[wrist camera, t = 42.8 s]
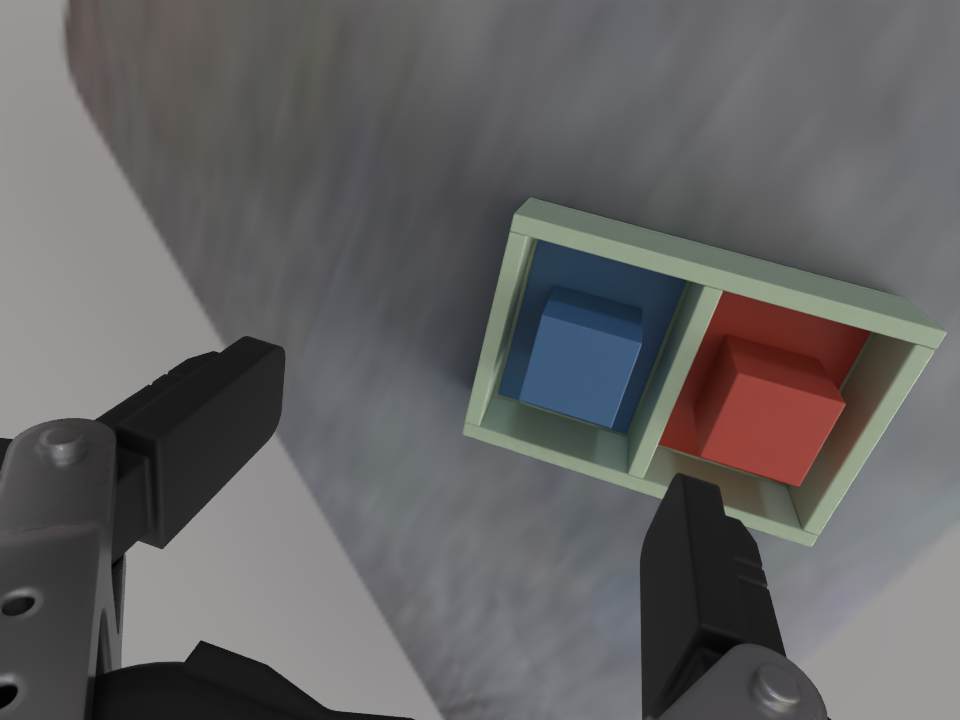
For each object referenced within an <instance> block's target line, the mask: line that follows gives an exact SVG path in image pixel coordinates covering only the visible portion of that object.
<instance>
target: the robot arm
mask: <svg viewBox="0 0 960 720" xmlns="http://www.w3.org/2000/svg"><path fill="white" fill-rule="evenodd" d="M284 370H285V351H284V349H283V348H282V347H281V346H278V345H274V344H271V343H268V342H265V341H262V340H258V339H255V338H252V337H249V336H245V337H242V338H241V339H239V340H238V341H236V342H235V343H233V344H232V345H230V346H229V347H228V348H226V349H225V350H223V351H222V352H220V353H218V352H215V351H212V352H209V353H205V354H202V355H199V356H196V357H192V358H189V359H187V360H185V361H184V362H182V363H181V364H179V365H178V366H176V367H175V368H173V369H172V370H170V371H169V372H168V374H167V375H166V374H164V375H162V376H161V377H159V378H158V379H156V380H155V381H153V383H152V385H147V386H146V387H144V388H143V389H141V390H140V391H138V392H137V393H135V394H134V395H132V396H130V397H129V398H127V399H126V400H125V401H123V402H121V403H120V404H118V405H117V406H115V407H114V408H112V409H111V410H109V411H108V412H106V413H105V414H103V415H102V416H100V417H99V418H97V419H96V420H90V419H82V418H81V419H80V418H67V419H58V420H52V421H48V422H44V423H41V424H38V425H36V426H33V427H31V428H29V429H27V430H25V431H24V432H22V433H20V434H19V435H18V436H16V437H15V438H14V439H5V438H0V720H414V719H412V718H405V717H394V716H383V715H373V714H362V713H352V712H341V711H334V710H330V709H327V708H326V707H324V706H322V705H321V704H320V703H318V702H317V701H316V700H314V699H313V698H311V697H310V696H309V695H307V694H306V693H305V692H303V691H302V690H300V689H299V688H298V687H297V686H295V685H294V684H292V683H291V682H290V681H288V680H287V679H286V678H284V677H283V676H282V675H280V674H279V673H278V672H276V671H275V670H273V669H272V668H271V667H269V666H268V665H266V664H263V663H261V662H258V661H255V660H253V659H250V658H247V657H244V656H242V655H239V654H236V653H234V652H231V651H228V650H225V649H223V648H220V647H218V646H215V645H212V644H209V643H206V642H204V641H200V642H199V643H198V645H197V646H196V647H195V649H194V650H193V651H192V653H191V654H190V655H189V657H188V658H187V659H186V661H185V662H154V663H148V664H139V665H134V666H130V667H126V668H121V649H122V631H123V611H124V594H125V575H126V556H125V552H126V551H127V550H128V549H129V548H130V547H132V545H134V544H135V543H136V542H137V541H140V542H143V543H146V544H149V545H152V546H154V547H158V548H160V549H163V548H164V547H165V546H166V545H167V544H168V543H169V542H170V541H171V540H172V539H173V538H174V537H175V536H176V535H177V534H178V533H179V532H180V531H181V530H182V529H183V528H184V527H185V525H187V523H189V521H190V520H191V519H192V518H193V517H194V516H195V515H196V514H197V513H198V512H199V511H200V510H201V509H202V508H203V507H204V506H205V505H206V504H207V503H208V502H209V501H210V500H211V499H212V498H213V497H214V496H215V495H216V494H217V493H218V492H219V491H220V490H221V489H222V487H223V486H225V485H226V483H227V482H228V481H229V480H230V479H231V478H232V477H233V476H234V475H235V474H236V473H237V472H238V471H239V470H240V469H241V468H242V467H243V466H244V465H245V464H246V463H247V462H248V461H249V460H250V459H251V458H252V457H253V456H254V455H255V454H256V453H257V452H258V451H259V449H261V447H263V445H264V444H265V443H266V442H267V441H268V440H269V439H270V438H271V436H272V435H273V433H274V432H275V430H276V428H277V425H278V423H279V420H280V416H281V410H282V397H283V384H284ZM640 597H641V664H642V720H831V719H830V718H828V717H827V711H826V707H825V704H824V702H823V699H822V697H821V695H820V694H819V692H818V690H817V688H816V687H815V685H814V684H813V683H812V681H811V680H810V679H809V678H808V677H807V676H806V675H805V673H804V672H803V671H802V670H801V669H800V668H798V667H797V666H796V665H795V664H794V663H793V662H791V661H790V660H789V659H787V658H786V654H785V650H784V646H783V642H782V638H781V635H780V631H779V627H778V623H777V619H776V615H775V612H774V608H773V604H772V600H771V596H770V592H769V590H768V589H767V581H766V577H765V573H764V570H762V562H761V558H760V554H759V550H758V546H757V543H756V541H755V540H754V539H753V537H752V536H751V534H750V533H749V532H748V530H747V529H746V527H745V526H744V525H743V523H742V522H741V520H739V519H736V518H733V517H730V516H726V515H725V510H724V505H723V501H722V496H721V491H720V487H719V486H718V485H717V484H714V483H710V482H707V481H704V480H701V479H698V478H695V477H691V476H688V475H685V474H682V473H677V474H676V475H675V476H674V477H673V479H672V481H671V483H670V485H669V487H668V489H667V491H666V493H665V495H664V497H663V499H662V502H661V504H660V506H659V508H658V510H657V512H656V514H655V516H654V519H653V521H652V523H651V525H650V527H649V529H648V531H647V534H646V536H645V540H644V543H643V547H642V552H641V558H640Z"/></svg>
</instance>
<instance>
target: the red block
mask: <svg viewBox="0 0 960 720" xmlns="http://www.w3.org/2000/svg"><path fill="white" fill-rule="evenodd" d="M845 405H846V403H845V401H844V400H843V398H842V396H841V395H840V393H839V391H838V390H837V388H836V387H835V385H834V383H833V382H832V380H831V378H830V377H829V375H828V373H827V372H826V370H825V369H824V367H823V365H822V364H821V362H820V360H818V359H815V358H811V357H808V356H804V355H800V354H797V353H793V352H790V351H786V350H782V349H779V348H775V347H772V346H768V345H764V344H761V343H757V342H754V341H750V340H746V339H743V338H739V337H736V336H732V335H728V334H726V335H725V336H724V339H723V341H722V343H721V346H720V348H719V350H718V353H717V355H716V357H715V360H714V362H713V364H712V367H711V369H710V371H709V373H708V376H707V378H706V380H705V383H704V385H703V387H702V390H701V392H700V394H699V397H698V399H697V401H696V404H695V406H694V408H693V412H694V419H695V426H696V433H697V440H698V447H699V454H700V457H703V458H706V459H709V460H713V461H716V462H719V463H722V464H726V465H729V466H732V467H735V468H739V469H742V470H745V471H749V472H752V473H755V474H758V475H762V476H765V477H768V478H772V479H775V480H778V481H781V482H785V483H788V484H791V485H794V486H800V484H801V483H802V481H803V479H804V477H805V475H806V474H807V472H808V470H809V468H810V467H811V465H812V463H813V461H814V460H815V458H816V456H817V454H818V453H819V451H820V449H821V447H822V445H823V444H824V442H825V440H826V438H827V437H828V435H829V433H830V431H831V430H832V428H833V426H834V424H835V423H836V421H837V419H838V417H839V415H840V414H841V412H842V410H843V408H844V407H845Z"/></svg>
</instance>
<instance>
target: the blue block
mask: <svg viewBox="0 0 960 720" xmlns="http://www.w3.org/2000/svg"><path fill="white" fill-rule="evenodd" d="M641 345H642V309H641V308H637V307H634V306H630V305H627V304H623V303H620V302H616V301H612V300H609V299H605V298H602V297H598V296H594V295H591V294H587V293H584V292H580V291H576V290H573V289H569V288H566V287H562V286H558V285H555V286H554V288H553V290H552V293H551V295H550V297H549V299H548V302H547V304H546V306H545V309H544V311H543V313H542V315H541V319H540V323H539V326H538V330H537V334H536V337H535V341H534V345H533V348H532V352H531V356H530V359H529V363H528V367H527V370H526V374H525V378H524V381H523V385H522V389H521V392H520V396H519V400H521V401H524V402H527V403H530V404H534V405H537V406H540V407H544V408H547V409H550V410H553V411H557V412H560V413H563V414H566V415H570V416H573V417H576V418H580V419H583V420H586V421H589V422H593V423H596V424H599V425H602V426H606V427H609V428H611V427H612V425H613V422H614V419H615V417H616V414H617V411H618V408H619V406H620V403H621V400H622V397H623V395H624V392H625V389H626V386H627V384H628V381H629V378H630V375H631V373H632V370H633V367H634V364H635V362H636V359H637V356H638V354H639V351H640V348H641Z"/></svg>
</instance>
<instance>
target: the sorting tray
mask: <svg viewBox="0 0 960 720" xmlns="http://www.w3.org/2000/svg"><path fill="white" fill-rule="evenodd" d="M555 285H558V286H562V287H566V288H569V289H573V290H576V291H580V292H584V293H587V294H591V295H594V296H598V297H602V298H605V299H609V300H612V301H616V302H620V303H623V304H627V305H630V306H634V307H637V308H641V309H642V345H641V348H640V351H639V354H638V356H637V359H636V362H635V364H634V367H633V370H632V373H631V375H630V378H629V381H628V384H627V386H626V389H625V392H624V395H623V397H622V400H621V403H620V406H619V408H618V411H617V414H616V417H615V419H614V422H613V425H612V427H611V428H609V427H606V426H602V425H599V424H596V423H593V422H589V421H586V420H583V419H580V418H576V417H573V416H570V415H566V414H563V413H560V412H557V411H553V410H550V409H547V408H544V407H540V406H537V405H534V404H530V403H527V402H524V401H521V400H519V396H520V392H521V389H522V385H523V381H524V378H525V374H526V370H527V367H528V363H529V359H530V356H531V352H532V348H533V345H534V341H535V337H536V334H537V330H538V326H539V323H540V319H541V315H542V313H543V311H544V309H545V306H546V304H547V302H548V299H549V297H550V295H551V293H552V290H553V288H554V286H555ZM946 333H947V331H945V330H944V329H943V328H942V327H941V326H940V325H938V324H937V323H936V322H935V321H934V320H932V319H931V318H930V317H929V316H928V315H926V314H925V313H924V312H923V311H922V310H921V309H919V308H918V307H917V306H916V305H915V304H913V303H912V302H911V301H910V300H909V299H907V298H903V297H899V296H896V295H892V294H888V293H884V292H881V291H877V290H873V289H870V288H866V287H862V286H858V285H855V284H851V283H847V282H843V281H840V280H836V279H832V278H829V277H825V276H821V275H817V274H814V273H810V272H806V271H803V270H799V269H795V268H791V267H788V266H784V265H780V264H777V263H773V262H769V261H765V260H762V259H758V258H754V257H751V256H747V255H743V254H739V253H736V252H732V251H728V250H724V249H721V248H717V247H713V246H710V245H706V244H702V243H698V242H695V241H691V240H687V239H684V238H680V237H676V236H672V235H669V234H665V233H661V232H658V231H654V230H650V229H646V228H643V227H639V226H635V225H632V224H628V223H624V222H620V221H617V220H613V219H609V218H606V217H602V216H598V215H594V214H591V213H587V212H583V211H579V210H576V209H572V208H568V207H565V206H561V205H557V204H553V203H550V202H546V201H542V200H539V199H535V198H531V197H530V198H529V199H528V200H527V201H526V202H525V203H524V204H523V205H522V206H521V207H520V208H519V209H518V210H517V211H516V212H515V213H514V215H513V219H512V223H511V228H510V232H509V236H508V240H507V244H506V249H505V253H504V257H503V261H502V266H501V270H500V274H499V278H498V282H497V287H496V291H495V295H494V299H493V304H492V308H491V312H490V316H489V320H488V325H487V329H486V333H485V337H484V342H483V346H482V350H481V354H480V358H479V363H478V367H477V371H476V375H475V380H474V384H473V388H472V392H471V396H470V401H469V405H468V409H467V413H466V417H465V422H464V426H463V431H462V434H463V435H466V436H469V437H472V438H475V439H478V440H481V441H484V442H487V443H490V444H493V445H497V446H500V447H503V448H506V449H509V450H512V451H515V452H518V453H521V454H524V455H527V456H530V457H534V458H537V459H540V460H543V461H546V462H549V463H552V464H555V465H558V466H561V467H564V468H568V469H571V470H574V471H577V472H580V473H583V474H586V475H589V476H592V477H595V478H598V479H601V480H605V481H608V482H611V483H614V484H617V485H620V486H623V487H626V488H629V489H632V490H635V491H639V492H642V493H645V494H648V495H651V496H654V497H657V498H660V499H663V497H664V495H665V493H666V491H667V489H668V487H669V485H670V483H671V481H672V479H673V477H674V476H675V475H676V474H677V473H682V474H685V475H688V476H691V477H695V478H698V479H701V480H704V481H707V482H710V483H714V484H717V485H718V486H719V487H720V491H721V496H722V501H723V505H724V510H725V515H726V516H730V517H733V518H736V519H739V520H741V522H742V523H743V525H744V526H747V527H750V528H753V529H756V530H759V531H762V532H765V533H768V534H771V535H774V536H777V537H781V538H784V539H787V540H790V541H793V542H796V543H799V544H802V545H805V546H808V547H812V545H813V544H814V542H815V540H816V539H817V537H818V535H819V534H820V533H821V531H822V529H823V528H824V526H825V525H826V523H827V521H828V520H829V518H830V517H831V515H832V514H833V512H834V510H835V509H836V507H837V506H838V504H839V502H840V501H841V499H842V498H843V496H844V494H845V493H846V491H847V490H848V488H849V486H850V485H851V483H852V482H853V480H854V479H855V477H856V475H857V474H858V472H859V471H860V469H861V467H862V466H863V464H864V463H865V461H866V459H867V458H868V456H869V455H870V453H871V452H872V450H873V448H874V447H875V445H876V444H877V442H878V440H879V439H880V437H881V436H882V434H883V432H884V431H885V429H886V428H887V426H888V424H889V423H890V421H891V420H892V418H893V417H894V415H895V413H896V412H897V410H898V409H899V407H900V405H901V404H902V402H903V401H904V399H905V397H906V396H907V394H908V393H909V391H910V390H911V388H912V386H913V385H914V383H915V382H916V380H917V378H918V377H919V375H920V374H921V372H922V370H923V369H924V367H925V366H926V364H927V362H928V361H929V359H930V358H931V356H932V355H933V353H934V351H935V349H937V347H938V346H939V344H940V343H941V341H942V339H943V338H944V336H945V335H946ZM726 334H728V335H732V336H736V337H739V338H743V339H746V340H750V341H754V342H757V343H761V344H764V345H768V346H772V347H775V348H779V349H782V350H786V351H790V352H793V353H797V354H800V355H804V356H808V357H811V358H815V359H818V360H820V362H821V364H822V365H823V367H824V369H825V370H826V372H827V373H828V375H829V377H830V378H831V380H832V382H833V383H834V385H835V387H836V388H837V390H838V391H839V393H840V395H841V396H842V398H843V400H844V401H845V403H846V405H845V407H844V408H843V410H842V412H841V414H840V415H839V417H838V419H837V421H836V423H835V424H834V426H833V428H832V430H831V431H830V433H829V435H828V437H827V438H826V440H825V442H824V444H823V445H822V447H821V449H820V451H819V453H818V454H817V456H816V458H815V460H814V461H813V463H812V465H811V467H810V468H809V470H808V472H807V474H806V475H805V477H804V479H803V481H802V483H801V484H800V486H794V485H791V484H788V483H785V482H781V481H778V480H775V479H772V478H768V477H765V476H762V475H758V474H755V473H752V472H749V471H745V470H742V469H739V468H735V467H732V466H729V465H726V464H722V463H719V462H716V461H713V460H709V459H706V458H703V457H700V454H699V447H698V440H697V433H696V426H695V419H694V412H693V408H694V406H695V404H696V401H697V399H698V397H699V394H700V392H701V390H702V387H703V385H704V383H705V380H706V378H707V376H708V373H709V371H710V369H711V367H712V364H713V362H714V360H715V357H716V355H717V353H718V350H719V348H720V346H721V343H722V341H723V339H724V336H725V335H726Z"/></svg>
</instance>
